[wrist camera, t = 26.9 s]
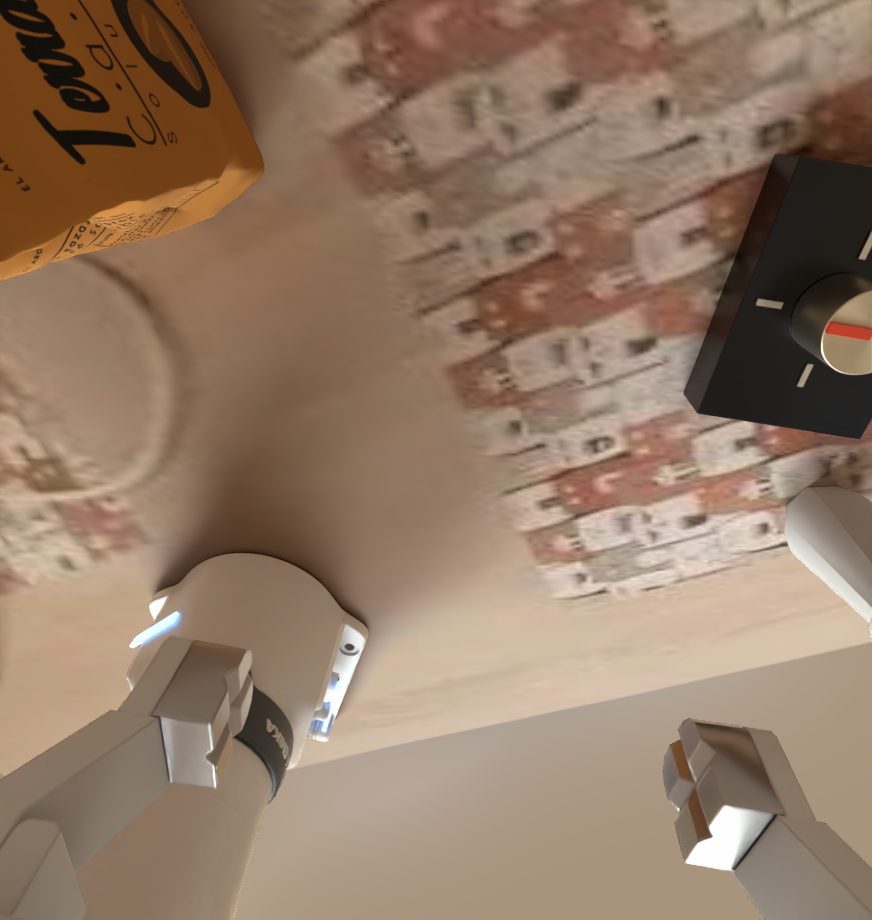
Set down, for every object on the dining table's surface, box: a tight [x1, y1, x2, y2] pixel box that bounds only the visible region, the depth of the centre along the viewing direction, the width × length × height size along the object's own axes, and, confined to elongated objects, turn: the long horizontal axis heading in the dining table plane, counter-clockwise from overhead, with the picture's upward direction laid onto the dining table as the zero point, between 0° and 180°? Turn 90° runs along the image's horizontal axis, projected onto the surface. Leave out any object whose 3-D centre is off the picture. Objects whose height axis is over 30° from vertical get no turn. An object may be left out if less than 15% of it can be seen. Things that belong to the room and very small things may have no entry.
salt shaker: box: [784, 486, 872, 639], centre depth 36 cm, size 6×6×13 cm
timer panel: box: [684, 154, 872, 439], centre depth 33 cm, size 14×10×3 cm
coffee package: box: [0, 0, 264, 280], centre depth 23 cm, size 10×12×22 cm
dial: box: [791, 273, 872, 375], centre depth 30 cm, size 4×4×4 cm
